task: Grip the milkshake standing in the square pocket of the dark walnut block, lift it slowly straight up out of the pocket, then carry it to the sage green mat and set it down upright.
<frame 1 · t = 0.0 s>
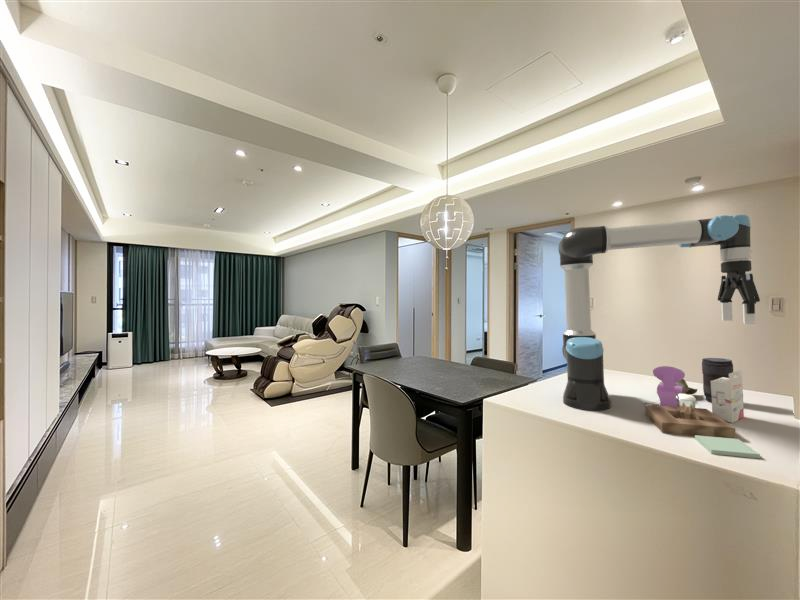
hand: (737, 322, 118), 28 cm above the table, fingers open, 13 cm apart
toy chair: (670, 410, 114), on the table
ink cartridge box: (727, 418, 105), on the table
ceramic sculpture: (674, 396, 128), on the table
pocket block: (685, 425, 101), on the table
milkshake: (685, 425, 101), resting in pocket block
camera lens: (718, 402, 120), on the table
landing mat: (725, 448, 85), on the table
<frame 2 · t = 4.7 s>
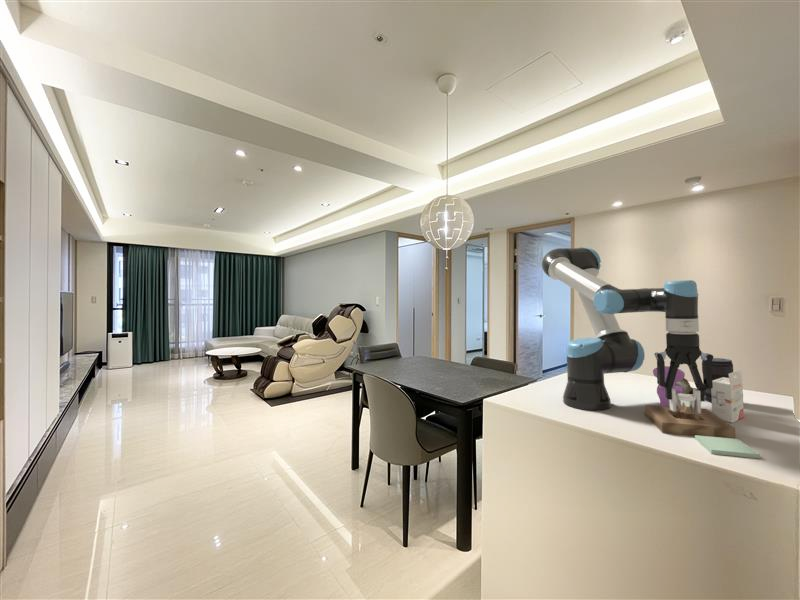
hand: (685, 410, 101), 4 cm above the table, fingers closed on milkshake, 5 cm apart
milkshake: (685, 425, 101), resting in pocket block, touching gripper
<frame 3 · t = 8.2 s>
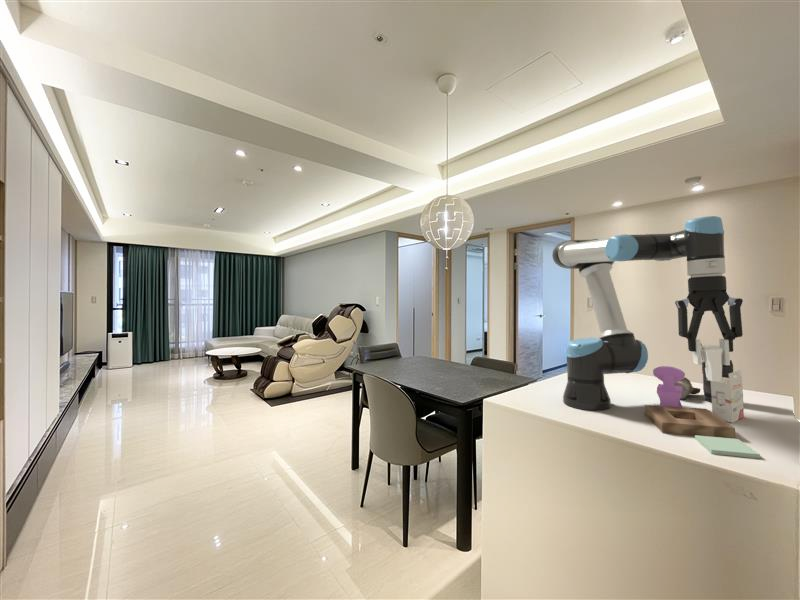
hand: (711, 363, 89), 20 cm above the table, fingers closed on milkshake, 5 cm apart
milkshake: (712, 380, 89), point 16 cm above the table, touching gripper
when the fingers open (7 cm above the table, at t = 11.7 s): milkshake drops 1 cm, resting on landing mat.
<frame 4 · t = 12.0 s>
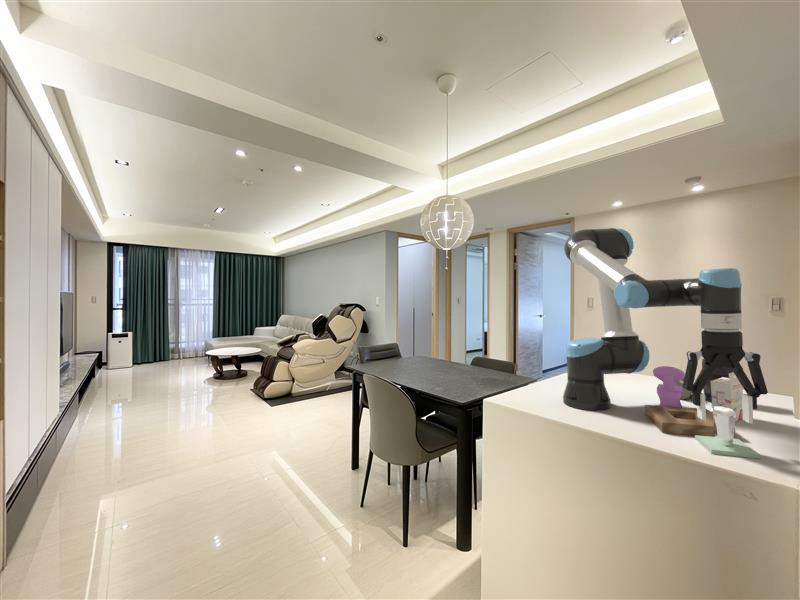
hand: (724, 419, 85), 7 cm above the table, fingers open, 8 cm apart
milkshake: (722, 444, 86), point 1 cm above the table, touching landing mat
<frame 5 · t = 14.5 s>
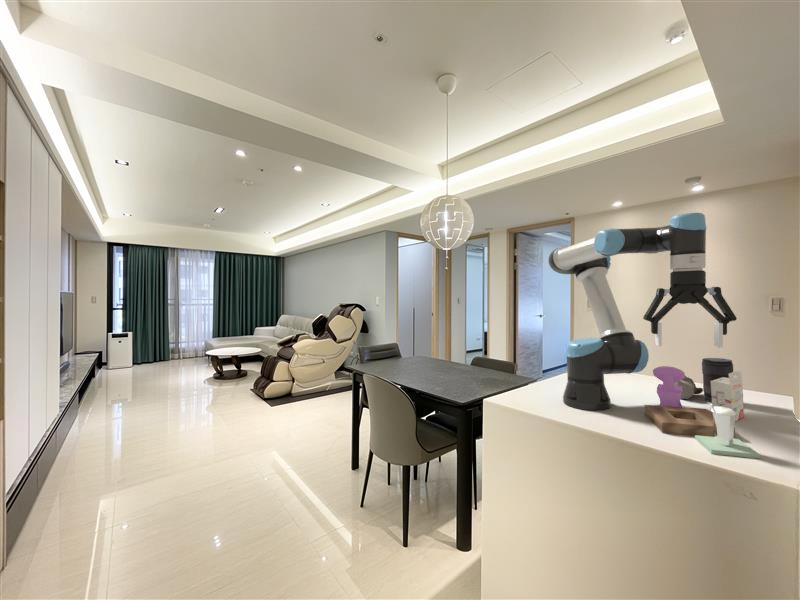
hand: (687, 346, 95), 24 cm above the table, fingers open, 13 cm apart
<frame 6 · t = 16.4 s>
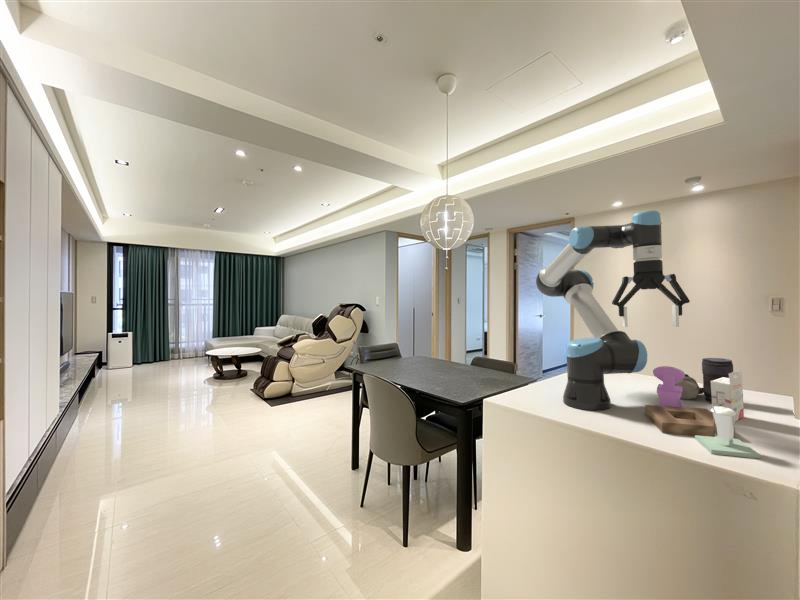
hand: (649, 326, 109), 29 cm above the table, fingers open, 13 cm apart
at the end: milkshake 0.4 cm off-centre on the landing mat, point 0.8 cm above the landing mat's base; milkshake tilted 0°; the gripper is holding nothing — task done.
